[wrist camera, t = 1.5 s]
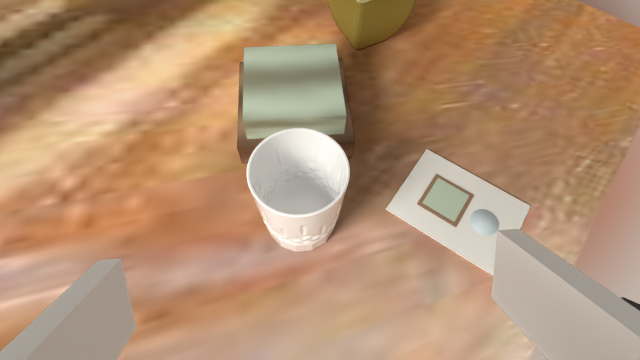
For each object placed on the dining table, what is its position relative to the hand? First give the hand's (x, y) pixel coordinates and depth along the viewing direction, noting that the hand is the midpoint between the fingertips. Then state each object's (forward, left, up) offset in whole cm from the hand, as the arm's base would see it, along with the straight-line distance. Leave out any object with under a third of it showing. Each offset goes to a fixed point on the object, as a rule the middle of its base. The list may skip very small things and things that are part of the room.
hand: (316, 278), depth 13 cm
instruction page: (-2, +19, -21) cm, 29 cm away
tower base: (-21, +12, -21) cm, 32 cm away
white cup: (-10, +5, -21) cm, 24 cm away
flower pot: (-28, +27, -21) cm, 44 cm away
